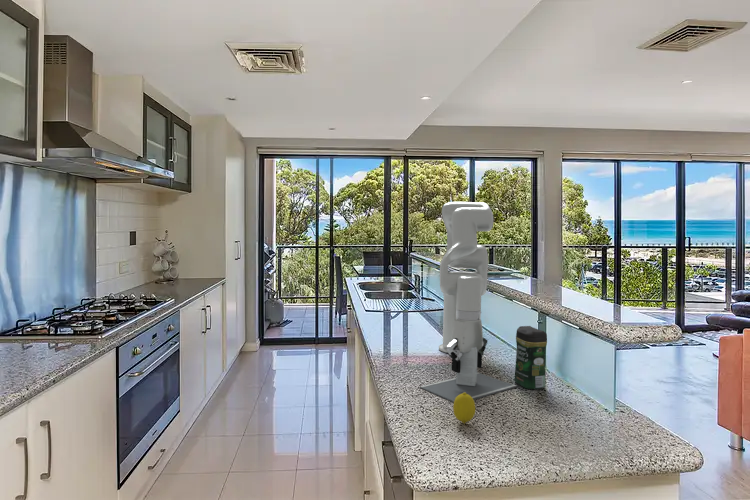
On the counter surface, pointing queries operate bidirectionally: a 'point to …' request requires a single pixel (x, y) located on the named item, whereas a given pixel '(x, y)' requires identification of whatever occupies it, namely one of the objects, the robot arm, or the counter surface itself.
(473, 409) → the lemon
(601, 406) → the counter surface
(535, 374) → the coffee jar
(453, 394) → the mat
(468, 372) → the skincare box
